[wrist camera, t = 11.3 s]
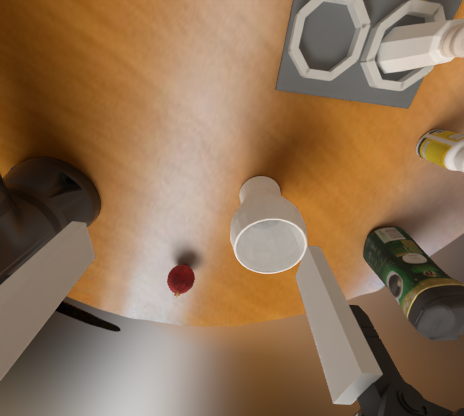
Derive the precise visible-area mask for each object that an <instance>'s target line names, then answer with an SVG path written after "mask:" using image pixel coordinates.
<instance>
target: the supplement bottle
mask: <svg viewBox="0 0 464 416" xmlns="http://www.w3.org/2000/svg"><path fill="white" fill-rule="evenodd" d="M416 152H417V154H418V156H420V157H421V158H423V159H426V160H428V161H430V162H433V163H435V164H438V165H440V166H442V167H445V168H447V169H449V170H453V171H462V172H464V135H463V134H460V133H455V132H451V131H447V130H443V129H435V130H432V131H429V132H428V133H426V134H425V135H424V136H423V137H422V138H421V139H420V140H419V141H418V143H417V146H416Z"/></svg>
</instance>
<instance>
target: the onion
mask: <svg viewBox="0 0 464 416" xmlns="http://www.w3.org/2000/svg"><path fill="white" fill-rule="evenodd" d="M194 280H195V276H194V272H193V270H192V269H191V268H190V267H189V266H187V265H178V266H176V267H174V268H173V269H172V270H171V271H170V273H169V275H168V280H167V283H168V286H169V288H170V290H171V291H172V292H174V293H175V295H174V296H176V297H178V296H179V295H180V294H182V293H185V292H187V291H188V290H189V289H190V288H191V287H192V286H193V283H194Z"/></svg>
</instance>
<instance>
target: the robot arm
mask: <svg viewBox="0 0 464 416" xmlns="http://www.w3.org/2000/svg"><path fill="white" fill-rule="evenodd" d="M100 208H101V204H100V198H99V195H98V193H97V191H96V189H95V187H94V186H93V184H92V183H91V182H90V180H89V179H88V178H87V177H86V176H85V175H84V174H83V173H81V172H80V171H79V170H78V169H76V168H75V167H73V166H71V165H69V164H68V163H65V162H63V161H61V160H58V159H54V158H49V157H35V158H31V159H28V160H26V161H23V162H21V163H19V164H17V165H15V166H14V167H12V168H11V170H10V171H9V172H8V174H7V175H6V176H4V177H3V178H2V177H1V175H0V381H1V379H2V378H3V377H4V376H5V374H6V373H7V372H8V370H9V369H10V368H11V366H12V365H13V364H14V363H15V361H16V360H17V358H18V357H19V356H20V355H21V353H22V352H23V351H24V350H25V348H26V347H27V346H28V344H29V343H30V342H31V341H32V339H33V338H34V337H35V335H36V334H37V333H38V332H39V330H40V329H41V328H42V326H43V325H44V324H45V322H46V321H47V320H48V319H49V317H50V316H51V315H52V313H53V312H54V311H55V310H56V308H57V307H58V306H59V304H60V303H61V302H62V300H63V299H64V298H65V297H66V295H67V294H68V293H69V291H70V290H71V289H72V288H73V286H74V285H75V284H76V282H77V281H78V280H79V278H80V277H81V276H82V275H83V273H84V272H85V271H86V269H87V268H88V267H89V266H90V264H91V263H92V262H93V260H94V259H95V258H96V257H95V254H94V250H93V246H92V243H91V239H90V236H89V232H88V229H87V227H88V226H90V225H91V224H92V223H93V222H94V221H95V220H96V218H97V217H98V215H99V213H100ZM295 277H296V280H297V284H298V287H299V290H300V294H301V297H302V300H303V304H304V307H305V310H306V314H307V317H308V320H309V324H310V327H311V331H312V334H313V337H314V341H315V344H316V347H317V351H318V354H319V357H320V361H321V364H322V367H323V371H324V374H325V377H326V381H327V384H328V387H329V391H330V394H331V397H332V401H333V403H334V404H349V405H351V404H352V403H353V402H354V401H356V400H357V399H358V402H359V404H360V407H361V409H360V410H359V411H358V412H356V413H355V414H354V415H353V416H464V408H461V409H458V410H456V411H455V412H452V411H450V410H448V409H445V408H443V407H440V406H438V405H436V404H434V403H431V402H429V401H427V400H425V399H424V398H423V397H422V395H421V394H420V393H419V392H418V391H417V390H416V389H414V388H413V387H412V386H411V385H409V384H407V383H406V382H405V381H404V380H403V378H402V377H401V375H400V374H399V372H398V370H397V368H396V366H395V365H394V363H393V361H392V359H391V357H390V355H389V354H388V352H387V350H386V348H385V347H384V345H383V343H382V341H381V339H379V336H378V334H377V332H376V330H375V329H374V326H373V325H372V323H371V321H370V319H369V317H368V316H367V315H366V313H365V312H364V311H363V310H362V309H361V308H360V307H359V306H357V305H348V303H347V301H346V299H345V297H344V294H343V292H342V290H341V288H340V286H339V284H338V282H337V280H336V278H335V276H334V274H333V272H332V270H331V268H330V266H329V264H328V262H327V260H326V258H325V256H324V254H323V252H322V250H321V248H320V247H318V246H307V248H306V251H305V253H304V256H303V258H302V261H301V264H300V266H299V269H298V271H297V274H296V276H295Z"/></svg>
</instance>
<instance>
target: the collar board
mask: <svg viewBox="0 0 464 416" xmlns="http://www.w3.org/2000/svg"><path fill="white" fill-rule="evenodd" d="M461 2H462V0H293V3H292V8H291V13H290V18H289V23H288V28H287V33H286V38H285V43H284V48H283V53H282V59H281V64H280V69H279V74H278V79H277V84H276V89H275V90H279V91H286V92H294V93H301V94H308V95H315V96H322V97H329V98H336V99H343V100H350V101H357V102H364V103H372V104H379V105H386V106H393V107H400V108H407V109H408V108H409V106H410V104H411V102H412V100H413V98H414V96H415V94H416V92H417V90H418V88H419V86H420V84H421V82H422V80H423V78H424V76H425V75H427V74H428V73H430V71H432V69H433V67H434V65H431V66H426V67H421V68H416V69H411V70H406V71H401V72H393V73H385V74H384V73H383V71H382V70H381V69H380V67H379V66H378V65H377V64H376V58H377V52H378V48H379V45H380V43H381V41H382V40H383V39H384V38H385V37H386V35H387V34H388V33H389V32H390V31H391V30H392V29H393V28H394V27H399V26H406V25H414V24H422V23H430V22H438V21H447V20H453V18H454V16H455V14H456V12H457V10H458V8H459V6H460V4H461Z"/></svg>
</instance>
